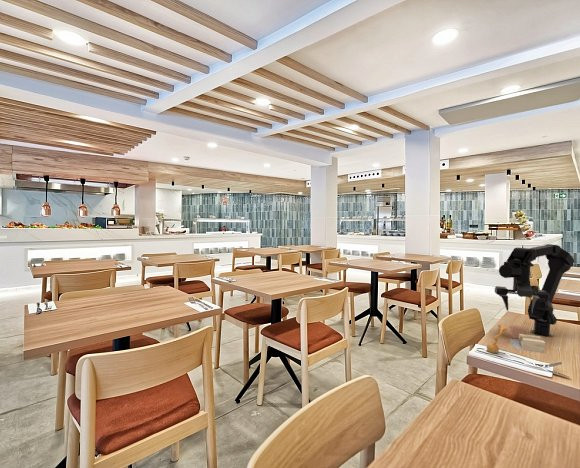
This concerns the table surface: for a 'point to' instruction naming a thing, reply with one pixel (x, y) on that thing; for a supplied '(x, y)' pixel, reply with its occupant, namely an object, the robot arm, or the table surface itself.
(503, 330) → the figurine
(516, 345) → the build plate
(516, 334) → the top brick
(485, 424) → the table surface
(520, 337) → the base brick
